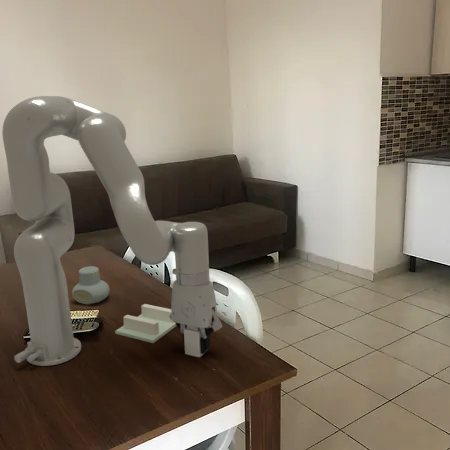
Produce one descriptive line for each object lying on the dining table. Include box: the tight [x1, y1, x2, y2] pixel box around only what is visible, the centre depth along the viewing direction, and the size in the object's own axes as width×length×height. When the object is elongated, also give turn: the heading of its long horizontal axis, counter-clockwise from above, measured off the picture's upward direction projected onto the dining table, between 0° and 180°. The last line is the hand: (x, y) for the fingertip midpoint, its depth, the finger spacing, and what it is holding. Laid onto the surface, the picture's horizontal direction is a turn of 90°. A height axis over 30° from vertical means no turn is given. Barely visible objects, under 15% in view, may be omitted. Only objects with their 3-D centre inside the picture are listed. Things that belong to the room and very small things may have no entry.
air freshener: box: [71, 265, 111, 306], centre depth 147 cm, size 11×8×10 cm
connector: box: [184, 325, 204, 358], centre depth 116 cm, size 4×4×8 cm
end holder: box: [114, 303, 178, 344], centre depth 130 cm, size 14×12×4 cm
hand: (196, 348), depth 117 cm, fingers closed on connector, 3 cm apart
